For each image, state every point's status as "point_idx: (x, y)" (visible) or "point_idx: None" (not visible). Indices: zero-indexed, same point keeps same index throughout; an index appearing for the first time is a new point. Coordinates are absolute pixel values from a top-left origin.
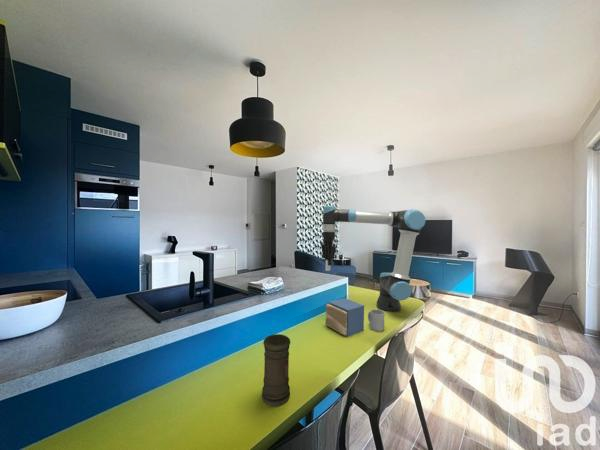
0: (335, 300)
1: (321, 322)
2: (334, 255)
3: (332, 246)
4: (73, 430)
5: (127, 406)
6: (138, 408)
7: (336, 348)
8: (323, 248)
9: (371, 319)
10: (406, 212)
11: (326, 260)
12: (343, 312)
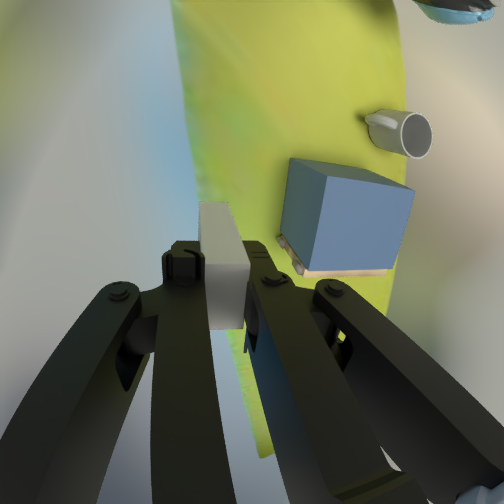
0: (317, 235)
1: (246, 228)
2: (389, 323)
3: (446, 502)
4: (262, 455)
5: (261, 446)
6: (268, 443)
7: (356, 288)
8: (86, 498)
9: (395, 152)
10: None
11: (221, 324)
12: (377, 275)
